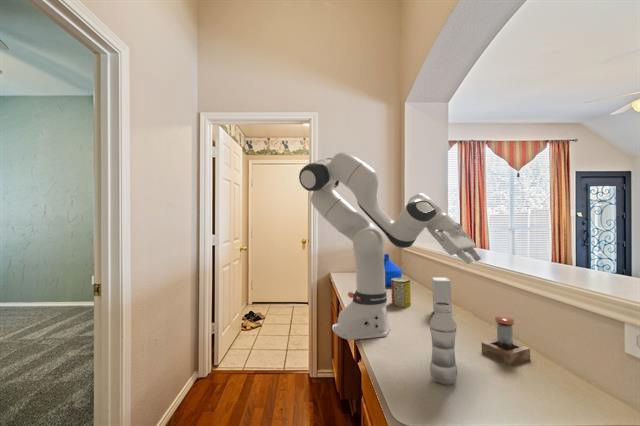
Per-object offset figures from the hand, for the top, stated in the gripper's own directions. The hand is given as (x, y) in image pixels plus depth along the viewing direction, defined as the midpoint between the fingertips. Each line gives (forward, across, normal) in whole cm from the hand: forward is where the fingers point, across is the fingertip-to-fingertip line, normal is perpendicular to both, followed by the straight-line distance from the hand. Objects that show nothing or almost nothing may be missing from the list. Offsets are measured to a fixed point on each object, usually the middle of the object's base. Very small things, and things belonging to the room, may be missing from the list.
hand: (475, 261), depth 94 cm
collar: (+26, +1, +14) cm, 29 cm away
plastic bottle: (+20, -26, +21) cm, 39 cm away
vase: (-28, +61, +68) cm, 95 cm away
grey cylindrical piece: (+26, +1, +14) cm, 29 cm away
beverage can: (-9, +28, +49) cm, 57 cm away
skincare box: (+6, +26, +34) cm, 43 cm away
